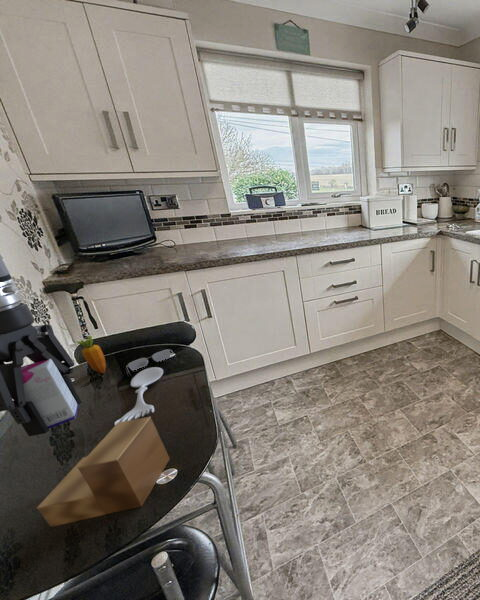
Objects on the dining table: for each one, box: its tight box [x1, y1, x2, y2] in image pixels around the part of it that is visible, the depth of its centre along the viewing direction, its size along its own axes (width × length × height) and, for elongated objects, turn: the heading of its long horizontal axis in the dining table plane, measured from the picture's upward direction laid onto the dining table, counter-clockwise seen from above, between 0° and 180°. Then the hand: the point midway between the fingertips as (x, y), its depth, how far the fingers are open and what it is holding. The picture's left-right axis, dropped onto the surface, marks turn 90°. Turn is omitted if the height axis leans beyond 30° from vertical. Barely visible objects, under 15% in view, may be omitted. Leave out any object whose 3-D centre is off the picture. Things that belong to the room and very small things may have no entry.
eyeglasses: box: [125, 349, 178, 379], centre depth 117 cm, size 14×8×4 cm, turn 136°
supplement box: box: [12, 359, 79, 430], centre depth 61 cm, size 6×6×12 cm
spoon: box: [114, 366, 164, 426], centre depth 100 cm, size 9×32×4 cm, turn 32°
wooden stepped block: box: [36, 416, 171, 528], centre depth 67 cm, size 16×12×12 cm
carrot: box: [76, 335, 107, 375], centre depth 115 cm, size 5×5×15 cm
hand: (57, 418), depth 63 cm, fingers closed on supplement box, 8 cm apart
